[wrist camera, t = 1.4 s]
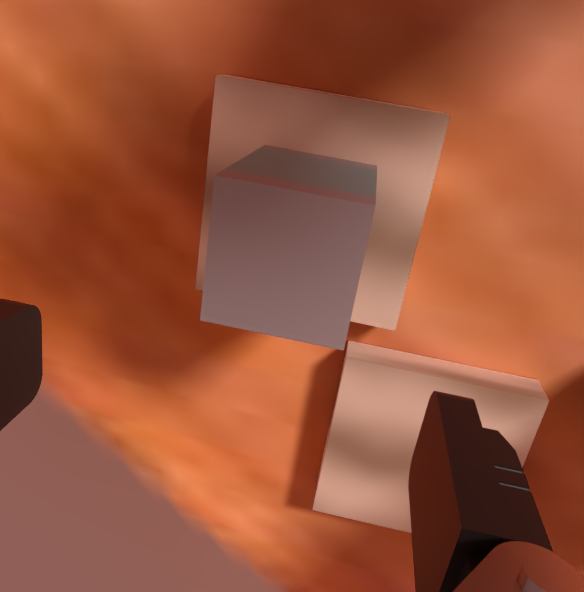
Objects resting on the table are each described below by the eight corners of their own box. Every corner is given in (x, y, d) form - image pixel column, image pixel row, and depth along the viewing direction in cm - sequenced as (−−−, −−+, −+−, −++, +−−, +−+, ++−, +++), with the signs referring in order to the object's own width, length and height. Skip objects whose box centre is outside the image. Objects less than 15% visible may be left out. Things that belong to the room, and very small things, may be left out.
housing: (264, 144, 24) (214, 175, 17) (377, 165, 24) (375, 205, 17) (250, 251, 26) (199, 320, 19) (354, 272, 26) (343, 350, 19)
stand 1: (227, 74, 25) (215, 74, 24) (445, 112, 25) (450, 115, 23) (206, 275, 29) (195, 289, 27) (394, 314, 28) (395, 330, 27)
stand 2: (348, 340, 29) (346, 357, 28) (538, 380, 29) (549, 400, 27) (316, 486, 33) (312, 510, 31) (482, 524, 33) (488, 551, 31)
